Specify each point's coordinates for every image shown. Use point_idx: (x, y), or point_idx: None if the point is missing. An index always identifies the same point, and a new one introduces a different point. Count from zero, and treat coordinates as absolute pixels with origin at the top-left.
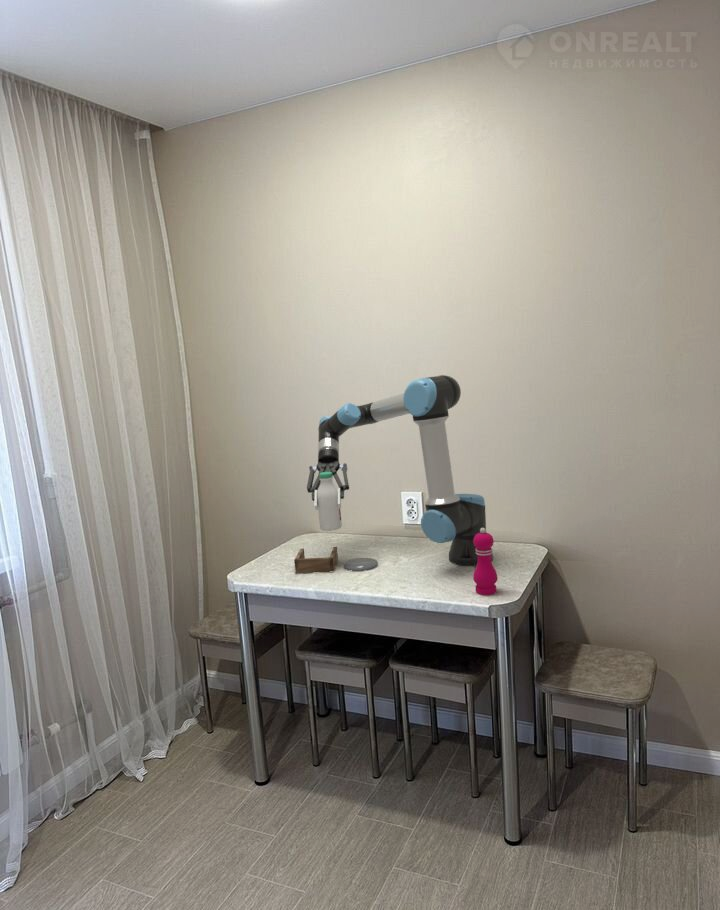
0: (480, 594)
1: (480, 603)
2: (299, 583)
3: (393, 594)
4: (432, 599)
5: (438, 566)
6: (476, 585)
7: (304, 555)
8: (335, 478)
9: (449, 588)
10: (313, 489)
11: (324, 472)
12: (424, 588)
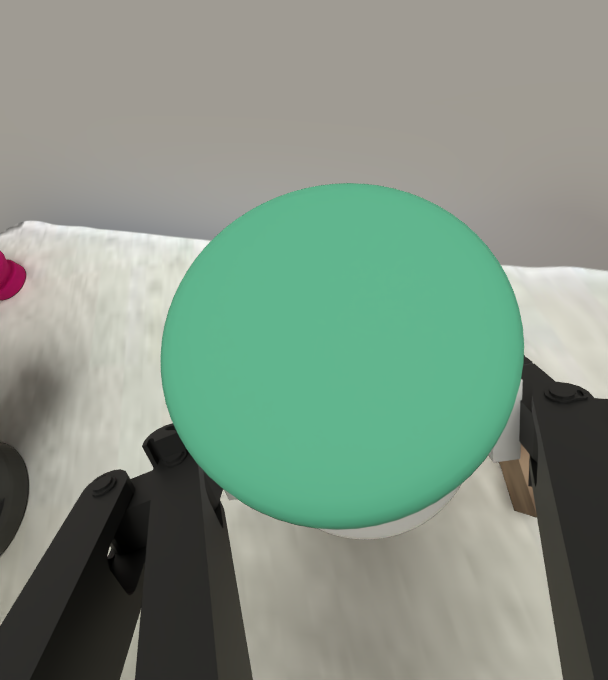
0: (21, 266)
1: (32, 230)
2: None
3: (174, 248)
4: (104, 235)
5: (63, 441)
6: (11, 276)
7: (523, 511)
8: (224, 640)
9: (66, 291)
10: (550, 387)
11: (370, 361)
12: (112, 286)
